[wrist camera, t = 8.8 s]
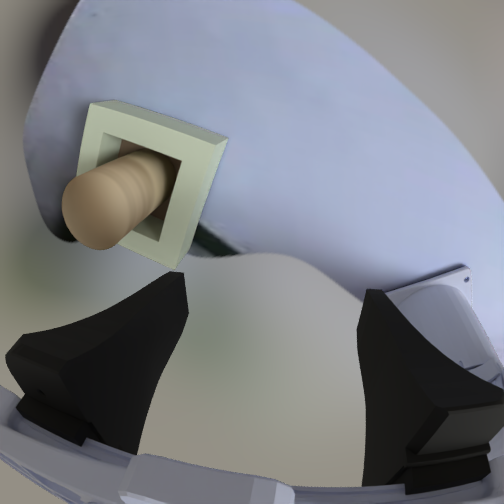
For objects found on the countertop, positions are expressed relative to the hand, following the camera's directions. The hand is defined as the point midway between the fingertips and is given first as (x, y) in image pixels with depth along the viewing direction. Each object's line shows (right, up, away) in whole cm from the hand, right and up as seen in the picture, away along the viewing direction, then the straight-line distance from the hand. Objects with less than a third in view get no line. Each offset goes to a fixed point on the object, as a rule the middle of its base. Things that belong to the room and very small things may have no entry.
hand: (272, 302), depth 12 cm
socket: (-8, +7, +8) cm, 13 cm away
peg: (-8, +7, +8) cm, 13 cm away
